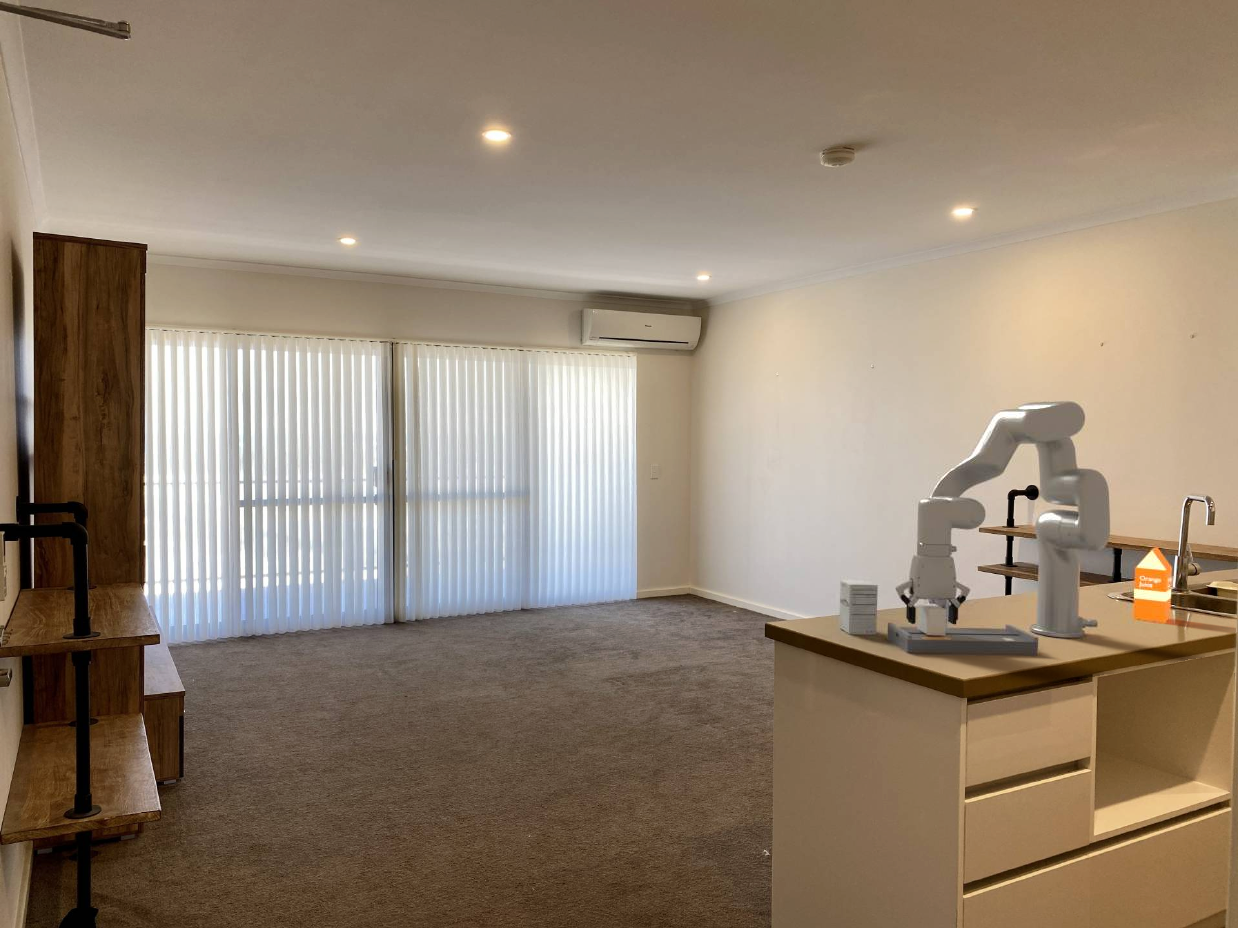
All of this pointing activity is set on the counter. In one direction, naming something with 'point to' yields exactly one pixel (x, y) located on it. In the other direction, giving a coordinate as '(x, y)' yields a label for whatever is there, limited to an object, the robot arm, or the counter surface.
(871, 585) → the supplement box
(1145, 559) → the orange juice
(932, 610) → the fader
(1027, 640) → the fader board
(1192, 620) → the counter surface
